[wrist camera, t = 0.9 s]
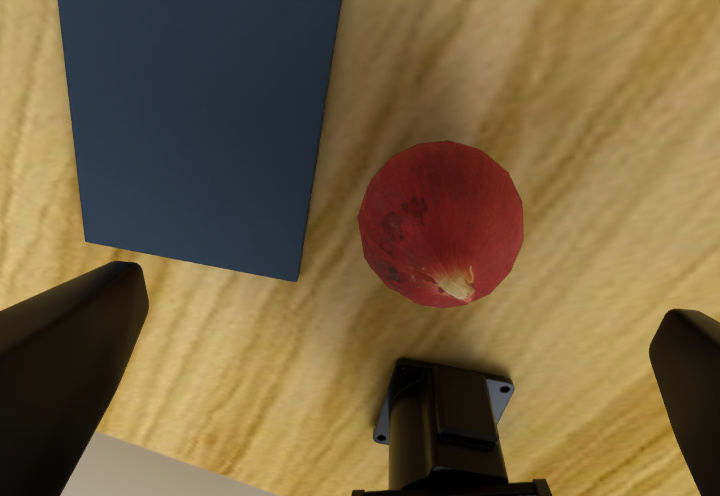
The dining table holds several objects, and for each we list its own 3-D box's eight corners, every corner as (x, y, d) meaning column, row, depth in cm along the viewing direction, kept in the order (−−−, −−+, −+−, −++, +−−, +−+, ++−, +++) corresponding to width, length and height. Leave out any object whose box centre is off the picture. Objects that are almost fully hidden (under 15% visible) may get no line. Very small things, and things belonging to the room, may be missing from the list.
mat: (298, 275, 23) (296, 283, 23) (91, 236, 23) (84, 242, 22) (375, -216, 14) (374, -223, 14) (35, -299, 14) (21, -309, 13)
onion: (374, 249, 22) (367, 375, 16) (353, 129, 20) (332, 216, 13) (502, 234, 22) (554, 359, 15) (499, 106, 19) (561, 187, 12)
